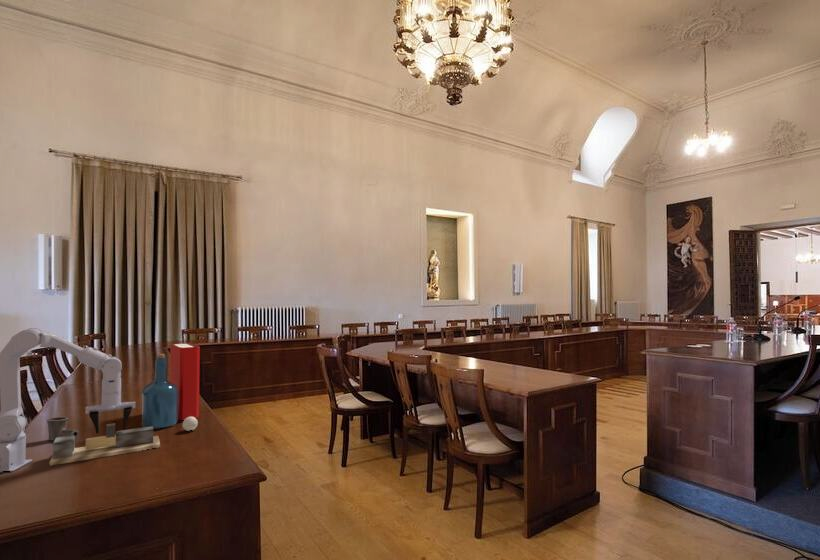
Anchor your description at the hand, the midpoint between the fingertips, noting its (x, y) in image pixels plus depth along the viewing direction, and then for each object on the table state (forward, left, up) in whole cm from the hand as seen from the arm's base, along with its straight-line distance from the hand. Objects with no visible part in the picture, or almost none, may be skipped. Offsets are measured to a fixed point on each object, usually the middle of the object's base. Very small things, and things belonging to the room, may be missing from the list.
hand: (110, 431), depth 156 cm
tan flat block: (+1, -3, -5) cm, 6 cm away
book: (+49, -9, -7) cm, 50 cm away
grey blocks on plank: (0, 0, -7) cm, 7 cm away
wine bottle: (+30, -5, -7) cm, 31 cm away
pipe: (+17, +24, -7) cm, 30 cm away
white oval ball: (+20, -21, -7) cm, 30 cm away
